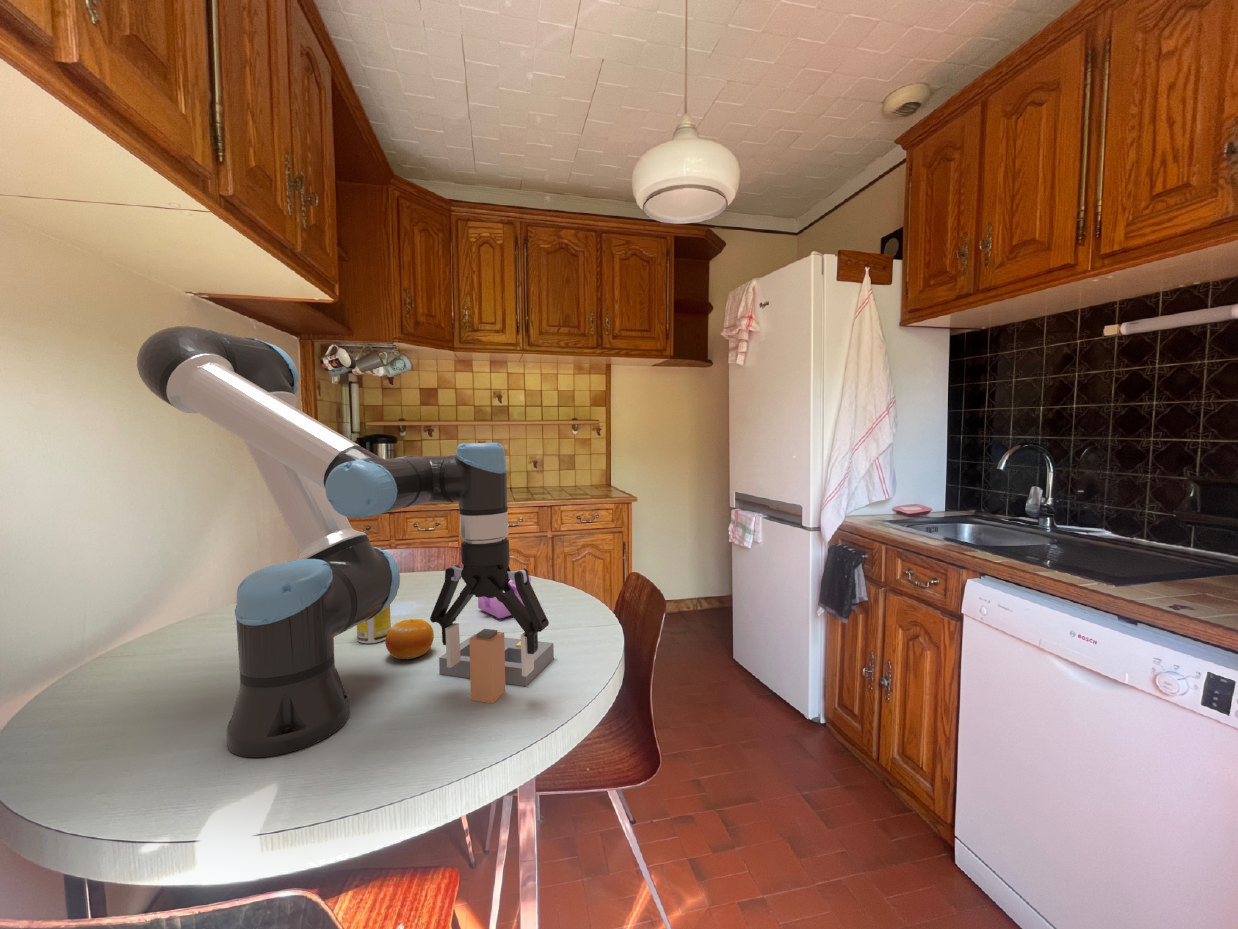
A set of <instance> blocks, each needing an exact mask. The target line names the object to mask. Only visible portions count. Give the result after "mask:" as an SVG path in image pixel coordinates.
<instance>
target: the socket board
mask: <svg viewBox="0 0 1238 929" xmlns="http://www.w3.org/2000/svg"><path fill="white" fill-rule="evenodd" d="M476 634H477V633H474V634H472V635H470V636H469V637H468V638H467V639H465V640H463V641H462V642H460V660H461V661H460V662H458V663H457V664H456V665H454V666H453V667H451V668H449V667H447V655H446V652H445V653H444V654H442V655H441V656H439V657H438V662H439V663H438V664H439V666H438V669H439V675H443V676H450V677H457V678H465V679H470V644H469V639H470V638H472V637H473V636H475V635H476ZM504 644H505V685H514V686H520V687H527V686H528V685H529V684H531V682H532V681H533V680H534V679H535V678H536V677H537V676H538V675H539V674H540V673H541V672H542V671H543V670H544V669H545V668H546V667H547V666H548V665H549V664H550V663H551V662H552V661H553V660H554V659H555V658H554V657H555V653H554V648H555V647H554V642H549V641H540V640H538V649H537V651H536V652H535V653H534V670H533V671H532V672H531V673H530V674H529V675H528V676H527V677H526V676H522V661H521V638H513V637H505V636H504Z"/></svg>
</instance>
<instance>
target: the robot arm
mask: <svg viewBox="0 0 1238 929" xmlns="http://www.w3.org/2000/svg"><path fill="white" fill-rule="evenodd" d="M136 367H137V371H138V374H139V377H140V378H141V381H142V383H143V384H144V385H145V386H146V387H147V388H148V389H149V391H150V392H151V393H153V394H154V395H156V397H158V398H159V399H160V400H162V402H163V401H164V402H165V403H167V404H168V405H170V406H172V407H174V408H176V409H177V410H178V411H181V412H182V413H186V414H200V415H201V416H203V417H204V418H206V419H208V420H209V421H211V422H213V423H214V424H216V425H218V426H220V427H222V429H225V430H226V431H227V432H230V433H231V434H232V435H234V436H236V437H238V438H239V439H241V440H243V442H244V444H245V445H246V448H247V450H248V451H249V454H250V456H251V458H252V459H253V462H254V464H255V466H256V468H257V469H258V472H259V474H260V476H261V477H262V480H263V482H264V484H265V485H266V487H267V490H268V491H269V494H270V496H271V497H272V499H273V501H274V504H275V506H276V507H277V509H278V511H279V513H280V515H281V517H282V519H283V522H284V523H285V525H286V527H287V529H288V532H289V533H290V535H291V537H292V539H293V541H294V544H295V545H296V547H297V549H298V551H299V556H298V558H297V559H294V560H290V561H286V562H284V563H275V564H272V565H269V566H265V567H263V568H261V569H259V570H256V571H255V572H252V573H251V574H249V575H247V576H246V577H245V578H243V580H241V582H240V584H239V585H238V587H237V589H236V605H235V609H234V616H235V619H236V620H235V622H236V633H237V634H236V635H237V649H238V662H239V663H238V666H239V667H238V668H239V690H238V693H237V696H236V698H235V699H236V700H235V703H234V706H233V710H232V714H231V717H230V719H229V721H228V724H227V727H226V744H227V749H228V751H230V752H231V753H233V755H237V756H241V757H246V758H264V757H265V758H266V757H275V756H279V755H284V754H288V753H291V752H295V751H298V750H302V749H304V748H307V747H309V746H312V745H314V744H317V743H318V742H321V741H323V740H325V739H326V738H328V737H330V736H331V735H333V734H335V733H336V732H337V731H339V730H340V729H341V728H342V727H343V726H344V725H345V724H346V723H347V721H348V719H349V717H350V714H351V711H350V710H351V708H350V698H349V695H348V692H347V691H346V690H345V687H344V684H343V682H342V681H343V680H342V679H341V676H340V674H339V672H338V671H337V670H338V669H337V667H336V662H335V639H334V638H335V637H337V636H338V635H341V634H342V633H345V632H346V631H349V630H351V629H352V628H354V627H357V625H358V624H360V623H362V622H364V621H366V620H369V619H371V618H372V617H375V616H376V615H378V614H379V613H380V612H381V611H383V610H384V609H386V608H387V607H388V606H389V605H390V606H391V605H392V603H393V601H395V599H396V597H397V594H398V591H399V589H400V583H401V574H400V573H401V572H400V569H399V566H398V563H397V561H396V559H395V558H394V556H393V555H391V553H389V552H388V551H387V550H383V549H382V548H380V547H377V546H375V547H374V546H373V545H372V543H371V541H370V539H369V537H368V535H367V534H366V532H363V531H359V530H355V529H354V528H353V527H352V525H351V523H350V521H349V520H348V518H353V519H355V518H356V519H357V518H369V517H370V518H371V517H374V516H379V515H381V514H385V513H389V512H392V511H396V510H400V509H405V508H409V507H415V506H419V505H422V504H427V503H428V504H430V503H458V508H459V512H458V513H459V537H460V538H461V539H462V542H461V543H460V557H461V558H460V559H461V561H460V562H461V564H462V566H463V567H460V566H459V564H455V565H452V566H450V567H447V568H446V569H445V571H444V583H443V585H442V588H441V590H440V592H439V595H438V597H437V599H436V602H435V605H434V607H433V610H432V612H431V615H430V616H429V620H430V622H431V623H436V624H438V625H439V626H440V627H441V641H442V645H443V646H445V647H446V648H445V649H446V652H445V653H446V655H447V667H449V668H451V667H453V666H454V665H456V664H457V663H458V662H460V661H461V660H460V643H461V641H460V637H461V636H460V623H459V622H456V621H457V618H458V617H459V615H460V614H461V612H462V611H463V610H464V609H465V607H466V606H467V605H468V604H469V602H470V601H471V599H472V598H473V596H474V597H475V598H478V597H483V596H484V597H487V598H494V597H496V598H497V600H498V601H499V602H502V603H503V604H504V606H505V607H506V608H507V610H508V611H509V612H510V613H511V615H510V616H512V618H513V619H514V620H515V621H516V623H517V624H518V625H519V626H520V628H521V629H522V630H523V633H521V634H520V639H521V661H522V676H526V677H527V676H528V675H529V674H530V673H531V672H532V671H533V670H534V653H535V652H536V651H537V649H538V641H539V640H538V639H539V638H538V636H539V635H538V634H539V633H540V632H542V631H544V630H545V629H546V628H547V627H548V626H549V624H550V622H549V620H548V617H547V616H546V613H545V611H544V609H543V607H542V605H541V603H540V601H539V599H538V596H537V595H536V592H535V590H534V588H533V586H532V583H531V584H530V582H529V576H530V575H529V571H528V569H527V568H521V569H520V570H511V568H510V559H511V558H510V540H509V539H508V538H507V536H508V535H509V512H508V479H507V478H508V476H507V473H508V468H507V461H506V453H505V447H504V446H503V444H502V443H499V442H473V443H472V442H471V443H459V444H458V445H457V447H456V452H455V455H449V456H448V455H447V456H443V455H442V456H441V455H439V456H438V455H437V456H436V455H435V456H433V455H432V456H429V455H427V456H423V455H421V456H418V455H407V456H401V457H400V456H399V457H394V458H382V457H380V456H379V455H376V454H375V453H373V452H371V451H370V450H367V449H366V448H364V447H363V446H361V445H359V444H357V443H356V442H354V441H353V440H351V439H349V438H347V437H346V436H344V435H342V434H341V433H339V432H337V431H335V430H334V429H332V428H330V427H329V426H327V425H325V424H324V423H322V422H320V421H318V420H317V419H315V418H314V417H311V416H310V415H308V414H307V413H305V412H303V411H302V410H299V409H298V408H296V405H297V403H298V398H297V396H296V394H297V391H298V388H299V385H297V382H299V380H300V378H299V377H300V376H299V372H298V368H297V366H296V364H295V362H294V360H293V359H292V358H291V356H290V355H289V354H288V353H287V352H286V351H285V350H284V349H282V348H281V347H279V346H277V345H275V344H272V343H270V342H266V341H263V340H261V339H257V338H254V337H241V336H236V335H232V334H228V333H223V332H218V331H215V330H209V329H205V328H202V327H195V326H189V325H187V326H186V325H185V326H183V325H182V326H172V327H167V328H164V329H161V330H159V331H156V332H155V333H153V334H151V335H150V336H149V337H148V338H147V339H146V340H145V341H144V342H143V343H142V344H141V346H140V348H139V351H138V353H137V357H136ZM461 579H462V580H463V582H464V583H465V586H464V587H463V589H461V591H460V593H459V595H458V597H456V599H455V600H454V602H453V604H452V605H451V602H452V600H453V597H454V595H455V592H456V590H457V587H458V585H459V582H460V580H461ZM510 579H511V580H512V581H513V582H512V583H513V584H515V585H516V589H517V591H518V593H519V596H520V598H521V600H522V602H523V604H524V605H523V604H522V603H521V601H520V600H519V599H518V597H517V596H516V595H515V593H514V589H513V588H512V587H511V586H510V584H509V583H508V582H509V581H510ZM503 590H504V591H505V593H503ZM450 605H451V606H450ZM524 606H525V607H524ZM538 632H539V633H538Z"/></svg>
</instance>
